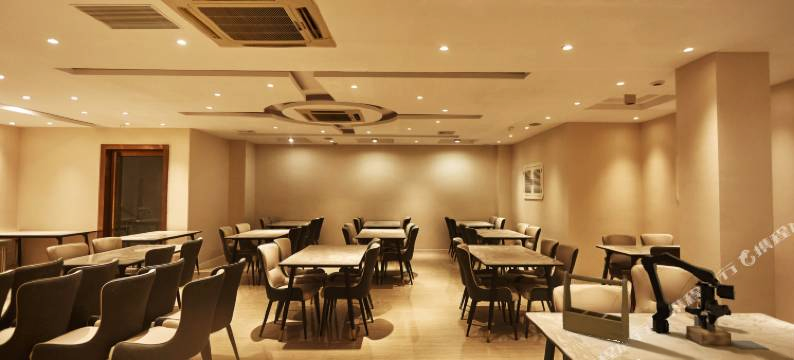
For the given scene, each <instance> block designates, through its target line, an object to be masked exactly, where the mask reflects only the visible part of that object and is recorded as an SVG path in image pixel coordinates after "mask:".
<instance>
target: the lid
mask: <svg viewBox="0 0 794 360" xmlns="http://www.w3.org/2000/svg"><path fill="white" fill-rule="evenodd" d="M685 328H687V329H690V330H692V331H694V332H696V333H698V334H700V335H731V336H732V333H731V332H729V331H726V330H724V329H722V328H720V327H716V325H714V324H711V323H709V322H707V326H706V329H705V328H704V327H703V325H702V323H701V326H694V325H686V326H685Z"/></svg>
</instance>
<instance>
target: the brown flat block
mask: <svg viewBox="0 0 794 360" xmlns="http://www.w3.org/2000/svg"><path fill="white" fill-rule="evenodd" d="M685 328H686V327H685ZM685 331H686V333H685V335H686V337H685V338H686V339H688V340H690V341H692V343H695V344H697V345H699V346H701V347H732V345H731V340H732V334H731V335H700V334H698V333H696V332H694V331H692V330H690V329H687V328H686V330H685Z"/></svg>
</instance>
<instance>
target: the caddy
mask: <svg viewBox="0 0 794 360" xmlns="http://www.w3.org/2000/svg"><path fill="white" fill-rule="evenodd" d="M570 279H571V280H575V281H576V280H577V281H581V282H587V283H588V282H589V283H597V284H602V285H609V286H615V287H616V286H617V287H621V307H620V308H621V313H620V315H616V314H611V313H604V312H601V311H600V312H599V311H596V310H595V311H594V310H591V309H590V310H589V309H584V308H580V307H575V306H572V294H571V283H570V281H571V280H570ZM562 289H563V292H562V293H563V294H562V312H561V313H562V318H561V319H562V330H564V331H567V330H568V332H572V333H576V334H580V333H581V335H584V336H585V335H586V336H589V335H590V337H593V336H594V338H597V337H599V338H598V339H602V338H603V340H606V339H610V340H617V341H620V342H623V343H624V344H625V343H626V342H627V341H628V340H629V339H630V311H629V310H630V309H629V308H630V307H629V291H628V289H629V288H628V279H627V278H623V279H622V280H616V279H610V278H609V279H608V278H603V277H602V278H599V277H592V276H587V275H581V274H575V273H570V272H569V271H567V270H565V271H564V273H563V288H562ZM628 338H629V339H628ZM627 339H628V340H627ZM610 340H609V341H610ZM626 340H627V341H626ZM623 343H622V344H623Z"/></svg>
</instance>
